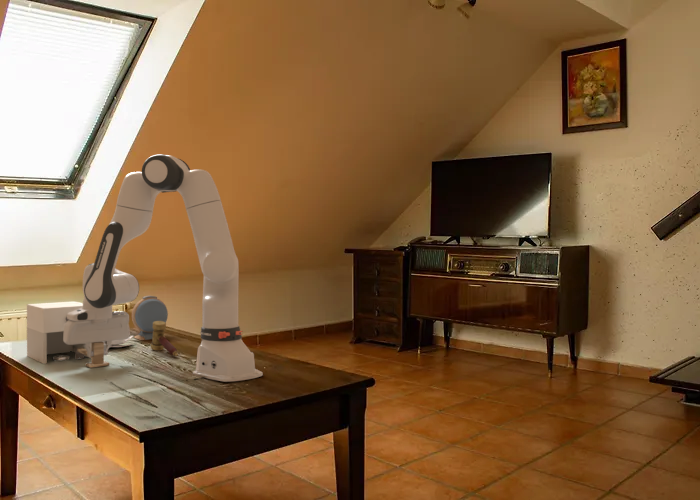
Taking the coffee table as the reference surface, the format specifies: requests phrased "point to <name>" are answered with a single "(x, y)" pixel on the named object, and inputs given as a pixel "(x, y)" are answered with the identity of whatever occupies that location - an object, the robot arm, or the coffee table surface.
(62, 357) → the disc
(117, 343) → the lotus flower
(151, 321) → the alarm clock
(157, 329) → the gavel
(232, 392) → the coffee table surface
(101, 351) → the hook tool
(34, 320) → the cabinet
